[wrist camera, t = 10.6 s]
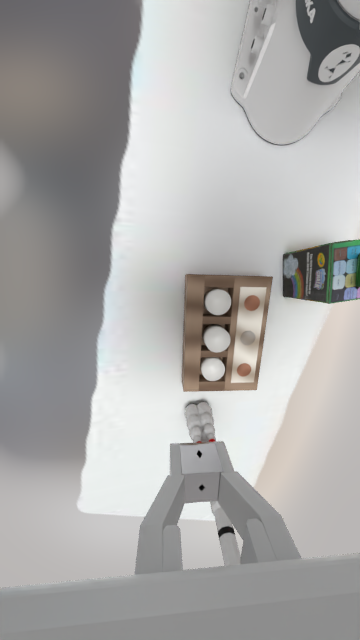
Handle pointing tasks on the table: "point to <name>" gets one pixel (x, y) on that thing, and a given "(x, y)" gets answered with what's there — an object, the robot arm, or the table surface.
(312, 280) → the chalk box
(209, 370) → the button
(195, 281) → the board
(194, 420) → the rocket model
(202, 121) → the table surface
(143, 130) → the table surface
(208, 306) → the button
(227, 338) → the middle button
